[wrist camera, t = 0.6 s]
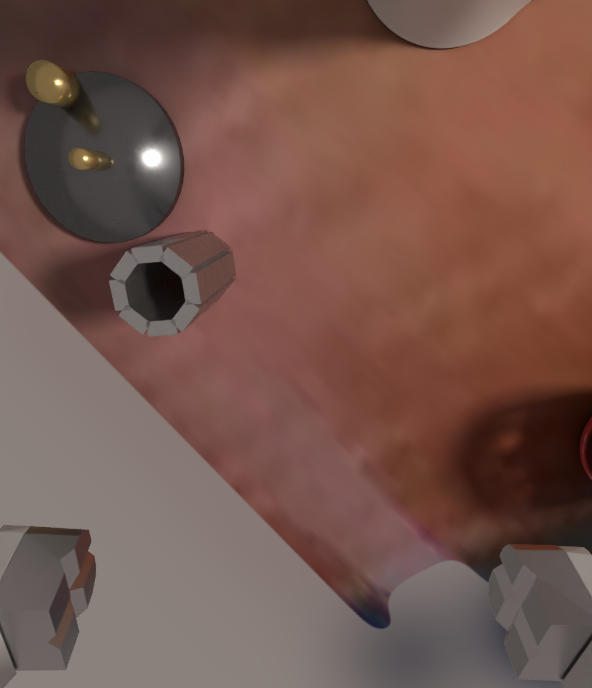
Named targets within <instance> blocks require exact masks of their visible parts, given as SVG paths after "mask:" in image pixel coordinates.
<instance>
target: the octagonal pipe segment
mask: <svg viewBox="0 0 592 688" xmlns="http://www.w3.org/2000/svg"><path fill="white" fill-rule="evenodd" d="M229 249H230V247H229V246H228V245H227V244H226V243H224V242H223V241H222V240H221V239H220V238H218V237H217V236H216V235H215V234H213V233H212V232H210V233H207V231H197V232H187V233H182V234H178V235H175V236H171V237H168V238H164V239H161V240H157V241H154V242H151V243H147V244H144V245H140V246H137V247H133V248H131V250H128V251H126V252H125V254H124V255H123V257H122V258H121V260H120V261H119V263H118V264H117V265H116V267H115V268H114V270H113V271H112V273H111V274H110V276H112V277H113V278H114V279H112V280H109V284H110V288H111V293H112V298H113V302H114V307H115V311H118V310H122V311H121V313H120V314H119V317H121V318H122V319H123V320H125V321H126V322H127V323H128V324H130V325H131V326H132V327H134V328H135V329H136V330H138V331H139V332H140V333H141V334H145V333H146V332H147V331H148V336H161V335H175V334H178V333H180V332H181V331H182V332H183V331H184V330H185V329H186V328H187V327H188V326H189V325H190V324H192V323H193V322H194V321H195V320H196V319H197V318H198V317H199V316H200V315H202V314H203V313H204V312H205V311H206V310H207V309H208V308H209V307H210V306H212V305H213V304H214V303H215V302H216V301H217V300H218V299H219V298H220V297H221V296H222V295H223V294H224V293H225V291H226V290H227V289H228V287H229V286H230V285H231V284H232V282H233V281H234V280H235V279H234V278H233V277H234V276H235V275H236V272H235V265H234V257H233V251H232V252H227V251H228V250H229Z"/></svg>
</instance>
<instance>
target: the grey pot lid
mask: <svg viewBox="0 0 592 688" xmlns="http://www.w3.org/2000/svg"><path fill="white" fill-rule="evenodd" d="M26 84H27V87H28V89H29V91H30V93H31V94H32V95H33V96H34V97H35V98H36V99H38V102H37V103H36V105H35V107H34V108H33V110H32V113H31V115H30V117H29V120H28V124H27V128H26V133H25V140H24V154H25V163H26V167H27V172H28V175H29V178H30V181H31V184H32V186H33V188H34V191H35V193H36V195H37V196H38V198H39V200H40V201H41V203H42V204H43V206H44V207H45V208H46V209H47V211H48V212H49V213H50V214H51V215H52V216H53V217H54V218H55V219H56V220H57V221H58V222H59V223H60V224H62V225H63V226H64V227H66V228H67V229H69V230H70V231H72V232H73V233H75V234H77V235H80V236H82V237H84V238H87V239H90V240H94V241H99V242H108V243H115V242H123V241H128V240H132V239H136V238H139V237H141V236H144V235H146V234H148V233H149V232H151V231H153V230H154V229H155V228H157V227H158V226H159V225H160V224H161V223H162V222H163V221H164V220H165V219H166V218H167V217H168V216H169V214H170V213H171V212H172V210H173V208H174V206H175V204H176V203H177V200H178V198H179V195H180V192H181V188H182V184H183V177H184V157H183V150H182V146H181V142H180V138H179V135H178V133H177V130H176V128H175V126H174V124H173V122H172V120H171V118H170V117H169V115H168V114H167V112H166V111H165V109H164V108H163V107H162V106H161V105H160V103H159V102H158V101H157V100H156V99H155V98H154V97H153V96H152V95H150V94H149V93H148V92H147V91H145V90H144V89H143V88H141V87H140V86H138V85H136V84H134V83H132V82H130V81H128V80H126V79H124V78H122V77H119V76H116V75H113V74H109V73H104V72H83V73H78V74H77V73H75V72H73V71H70V70H68V69H66V68H63V67H61V66H58V65H56V64H54V63H51V62H49V61H46V60H37V61H35V62H33V63H32V64H31V65H30V66H29V68H28V69H27V72H26Z"/></svg>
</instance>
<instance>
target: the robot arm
mask: <svg viewBox="0 0 592 688" xmlns="http://www.w3.org/2000/svg"><path fill="white" fill-rule="evenodd" d="M367 1H368V3H369V4H370V6H371V8H372V9H373V11H374V12H375V14H376V15H377V16H378V18H379V19H380V20H381V21H382V22H383V23H384V24H385V25H386V26H387V27H388V28H389V29H390V30H391V31H393V32H394V33H395V34H397V35H398V36H400V37H402V38H403V39H405V40H407V41H410V42H412V43H415V44H418V45H421V46H425V47H431V48H453V47H459V46H464V45H467V44H470V43H473V42H476V41H478V40H480V39H483V38H485V37H486V36H488V35H490V34H492V33H493V32H495V31H496V30H498V29H499V28H501V27H502V26H503V25H504V24H506V23H507V22H508V21H509V20H510V19H511V18H512V17H513V16H514V15H515V14H517V13H518V12H519V11H520V10H521V9H522V8H523V7H524V6H525V5H527V4H528V3H529V2H531V1H532V0H367ZM90 544H91V537H90V533H89V530H84V529H68V528H67V529H66V528H51V527H34V526H13V525H3V526H2V527H1V528H0V688H4V686H6V684H7V683H8V682H9V681H10V680H11V679H12V678H13V677H14V676H15V675H16V671H17V670H18V671H19V670H66V669H67V666H68V663H69V660H70V657H71V654H72V651H73V648H74V645H75V643H76V640H77V637H78V634H79V629H78V624H77V620H76V618H77V617H78V616H79V615H80V614H81V613H82V612H84V611H85V610H86V609H87V608H88V605H89V602H90V599H91V596H92V593H93V587H94V582H95V576H96V563H95V557H94V555H92V554H91V553H90V552H88V549H89V546H90ZM500 558H501V560H502V562H503V564H501V565H500V566H498V567H497V568H495V569H494V570H493V571H492V574H491V576H490V579H489V599H490V604H491V608H492V611H493V614H494V616H495V619H496V620H497V621H498V622H499V623H500V624H501V625H502V626H503V627H504V628H505V629H506V630H507V634H506V637H505V640H504V644H505V646H506V649H507V652H508V654H509V657H510V660H511V662H512V665H513V667H514V670H515V673H516V676H517V678H518V679H530V680H550V681H562V683H561V684H562V685H563V686H564V687H565V688H592V555H591V554H590V552H589V551H587V550H586V549H585V548H584V547H569V546H555V545H514V544H509V545H507V546H505V547H504V548H503V550H502V552H501V554H500Z"/></svg>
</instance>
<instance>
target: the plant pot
mask: <svg viewBox="0 0 592 688" xmlns="http://www.w3.org/2000/svg"><path fill="white" fill-rule="evenodd" d="M580 458H581V462H582V465H583V468H584V470H585V472H586V473H587V475H588V476H589V478H590V479H591V480H592V417H591V418H590V419H589V421H588V422H587V424H586V426H585V428H584V430H583V433H582V436H581V440H580Z"/></svg>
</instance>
